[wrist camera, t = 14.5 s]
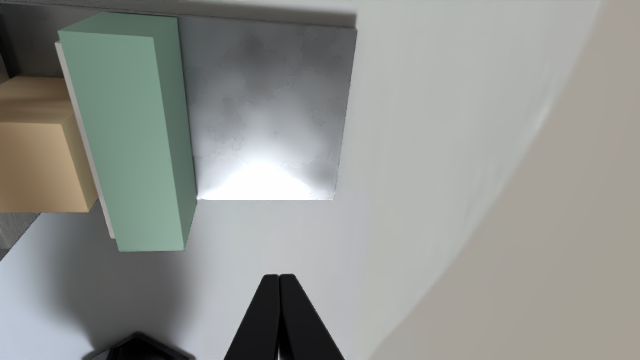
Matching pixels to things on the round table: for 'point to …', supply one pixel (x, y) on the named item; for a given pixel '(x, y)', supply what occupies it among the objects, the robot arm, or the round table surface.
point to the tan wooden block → (42, 149)
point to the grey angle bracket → (223, 98)
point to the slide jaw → (133, 125)
